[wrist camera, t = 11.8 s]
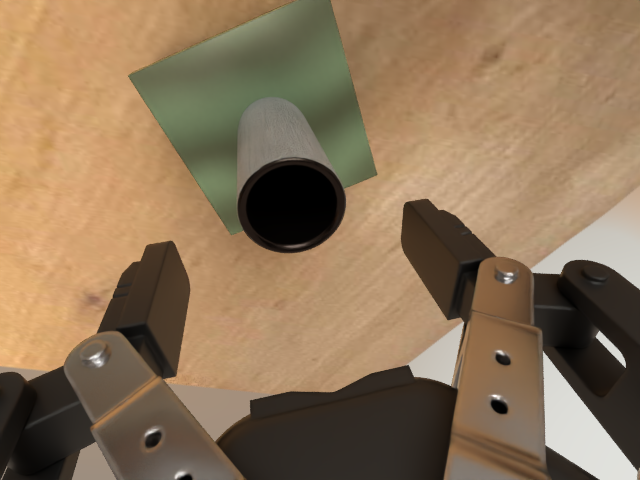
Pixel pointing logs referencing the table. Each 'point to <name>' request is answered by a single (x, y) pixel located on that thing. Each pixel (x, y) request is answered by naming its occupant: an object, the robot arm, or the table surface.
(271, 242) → the grey hollow tube
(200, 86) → the plant stand
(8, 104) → the table surface
